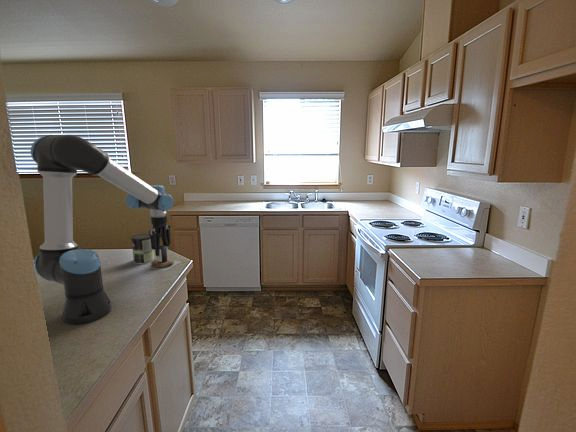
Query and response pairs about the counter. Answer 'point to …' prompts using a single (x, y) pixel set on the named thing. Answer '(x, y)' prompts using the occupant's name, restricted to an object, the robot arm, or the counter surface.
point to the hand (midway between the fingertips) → (162, 259)
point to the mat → (163, 267)
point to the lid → (163, 259)
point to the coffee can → (142, 249)
